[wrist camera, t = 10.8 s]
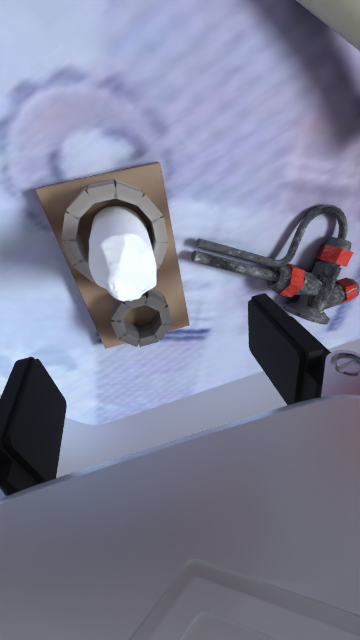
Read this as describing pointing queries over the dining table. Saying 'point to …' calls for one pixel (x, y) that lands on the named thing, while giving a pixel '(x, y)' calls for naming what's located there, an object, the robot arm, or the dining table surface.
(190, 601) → the robot arm
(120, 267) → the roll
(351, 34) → the flower vase
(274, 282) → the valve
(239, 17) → the dining table surface
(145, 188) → the fitting board
